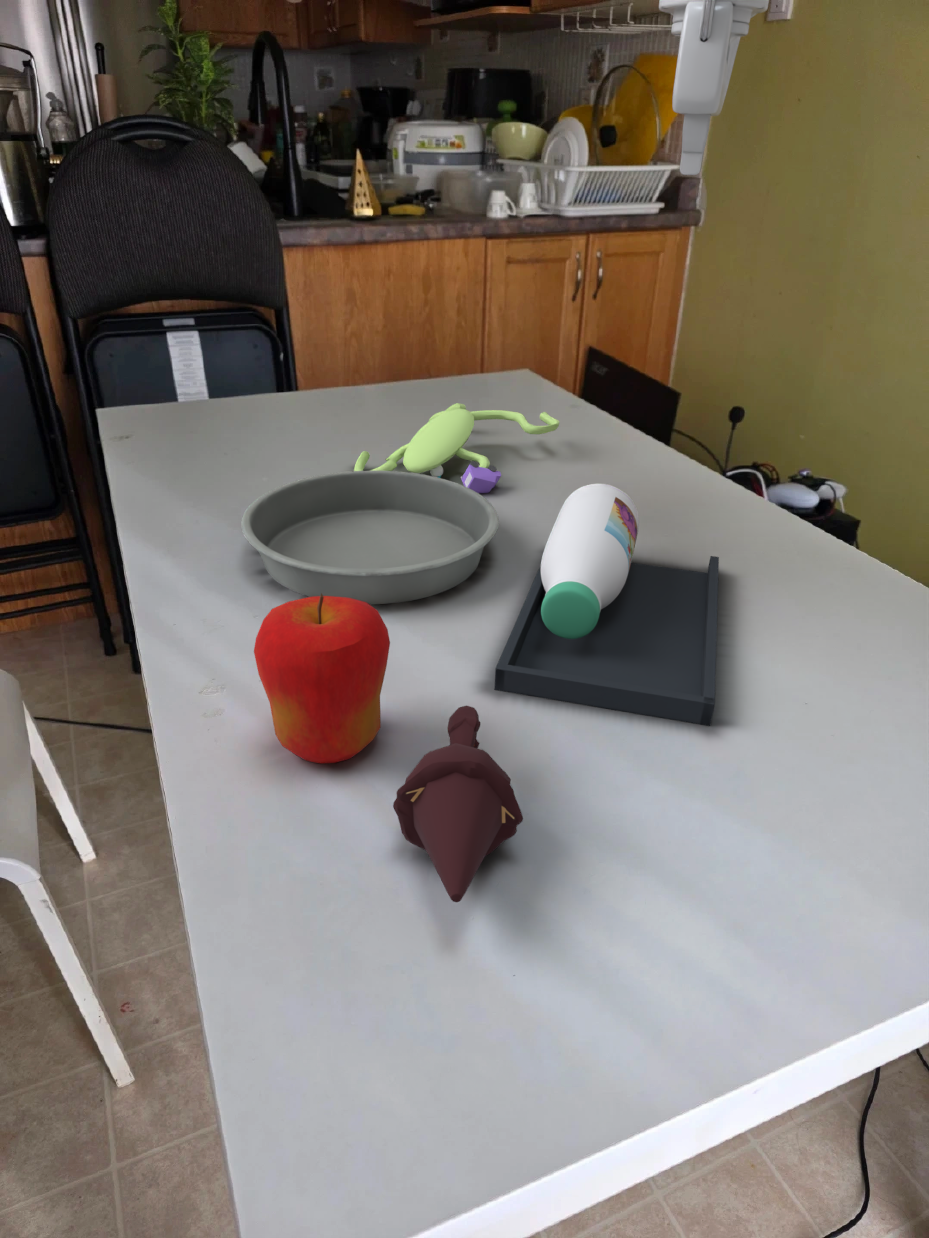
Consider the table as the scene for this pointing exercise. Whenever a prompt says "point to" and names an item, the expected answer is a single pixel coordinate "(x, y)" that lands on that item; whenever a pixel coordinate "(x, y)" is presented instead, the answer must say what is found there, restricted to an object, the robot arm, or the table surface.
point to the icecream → (458, 805)
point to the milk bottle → (587, 558)
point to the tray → (626, 648)
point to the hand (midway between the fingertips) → (689, 174)
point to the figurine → (454, 445)
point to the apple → (323, 675)
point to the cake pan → (370, 534)
